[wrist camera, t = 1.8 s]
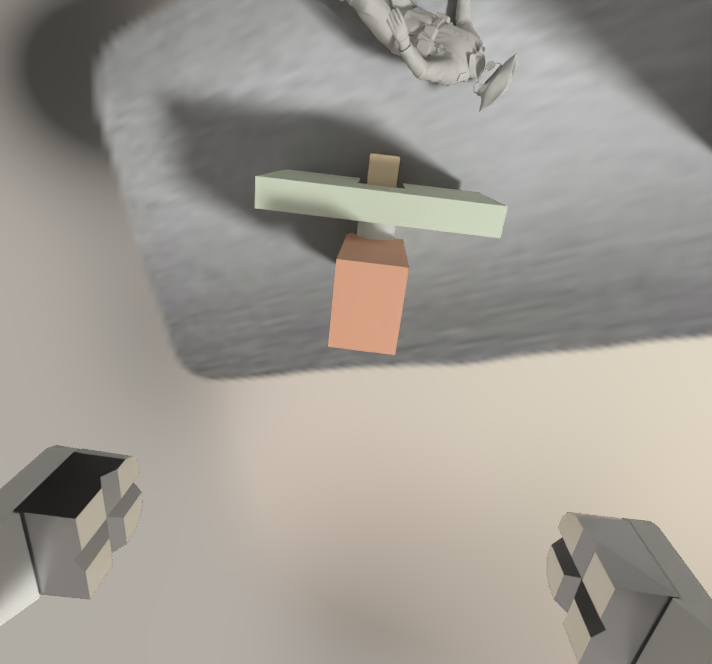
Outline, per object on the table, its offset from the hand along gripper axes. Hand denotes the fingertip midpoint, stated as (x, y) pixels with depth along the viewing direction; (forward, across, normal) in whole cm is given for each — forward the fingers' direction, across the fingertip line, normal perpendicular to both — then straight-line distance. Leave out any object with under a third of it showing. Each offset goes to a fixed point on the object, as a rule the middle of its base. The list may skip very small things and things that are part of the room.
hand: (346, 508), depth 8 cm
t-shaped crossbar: (+22, 0, -1) cm, 22 cm away
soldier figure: (+24, 0, -13) cm, 27 cm away
